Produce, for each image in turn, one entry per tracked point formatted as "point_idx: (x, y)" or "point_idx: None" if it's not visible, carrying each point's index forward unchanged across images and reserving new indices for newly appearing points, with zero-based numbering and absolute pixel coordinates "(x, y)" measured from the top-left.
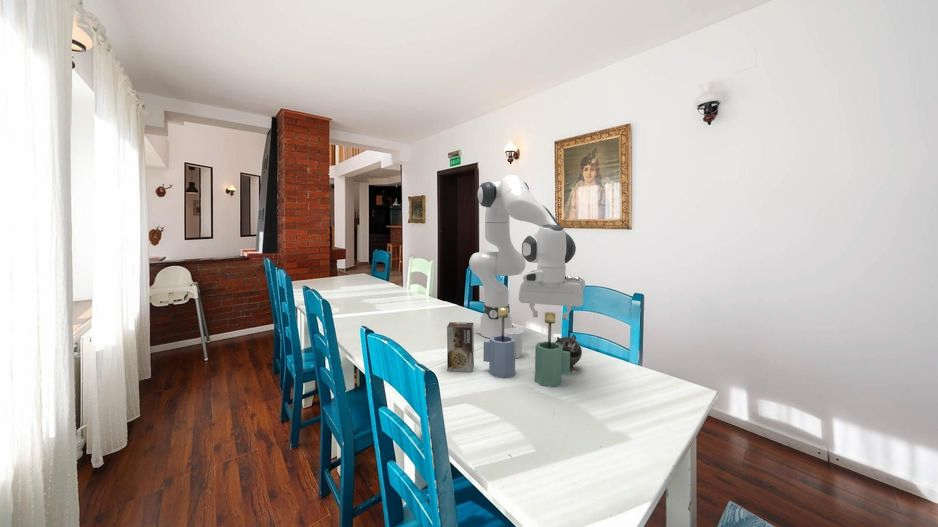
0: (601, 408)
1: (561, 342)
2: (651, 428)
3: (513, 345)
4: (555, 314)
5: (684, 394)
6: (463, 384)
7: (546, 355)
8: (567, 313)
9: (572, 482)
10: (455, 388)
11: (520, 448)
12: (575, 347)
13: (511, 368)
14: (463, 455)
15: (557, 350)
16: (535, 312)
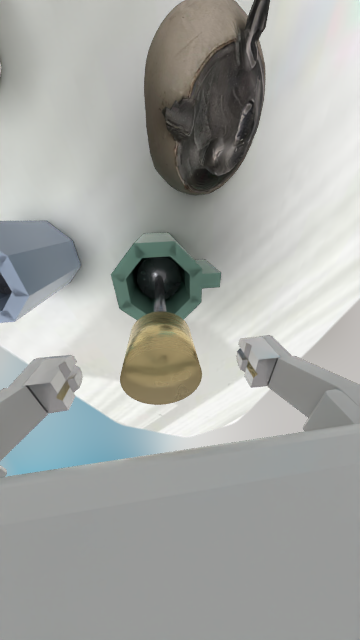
0: (242, 324)
1: (187, 143)
2: (285, 344)
3: (37, 291)
4: (200, 376)
5: None
6: (24, 335)
7: None
8: (285, 390)
9: (205, 417)
10: (26, 351)
11: (165, 407)
12: (241, 146)
13: (70, 274)
14: (128, 425)
15: (188, 313)
16: (55, 409)
